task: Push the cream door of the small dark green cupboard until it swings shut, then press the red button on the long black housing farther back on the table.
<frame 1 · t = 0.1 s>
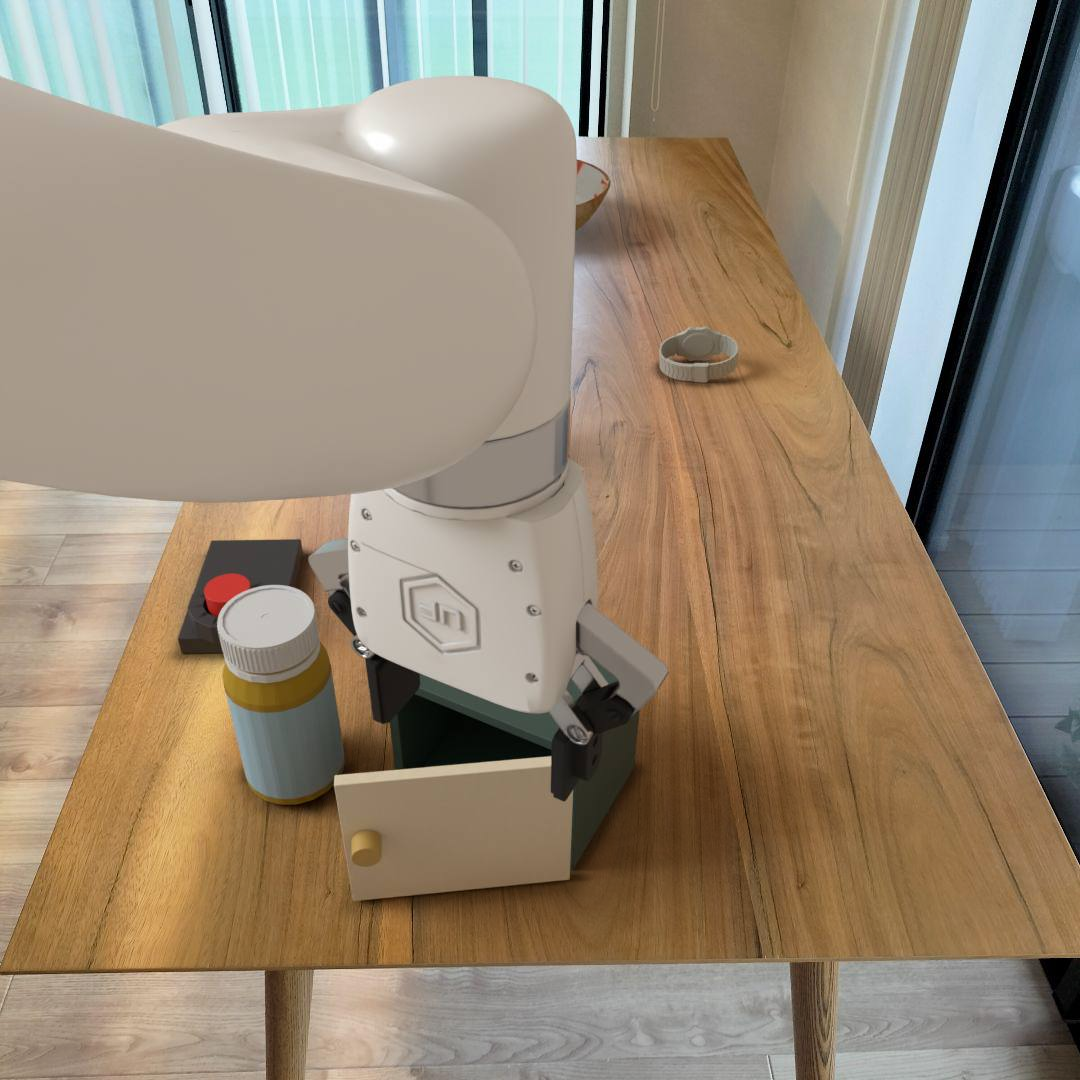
hand: (482, 739, 51), 22 cm above the table, tool pointing down, fingers open, 9 cm apart
switch: (245, 600, 93), on the table
button: (228, 595, 87), point 4 cm above the table, slide at 0.1 cm
bowl: (522, 235, 159), on the table
wristwatch: (696, 373, 126), on the table
elephant figurine: (443, 460, 111), on the table
bottle: (297, 773, 78), on the table
cupboard: (517, 779, 77), on the table
door: (459, 839, 66), point 6 cm above the table, hinge at 35.0°
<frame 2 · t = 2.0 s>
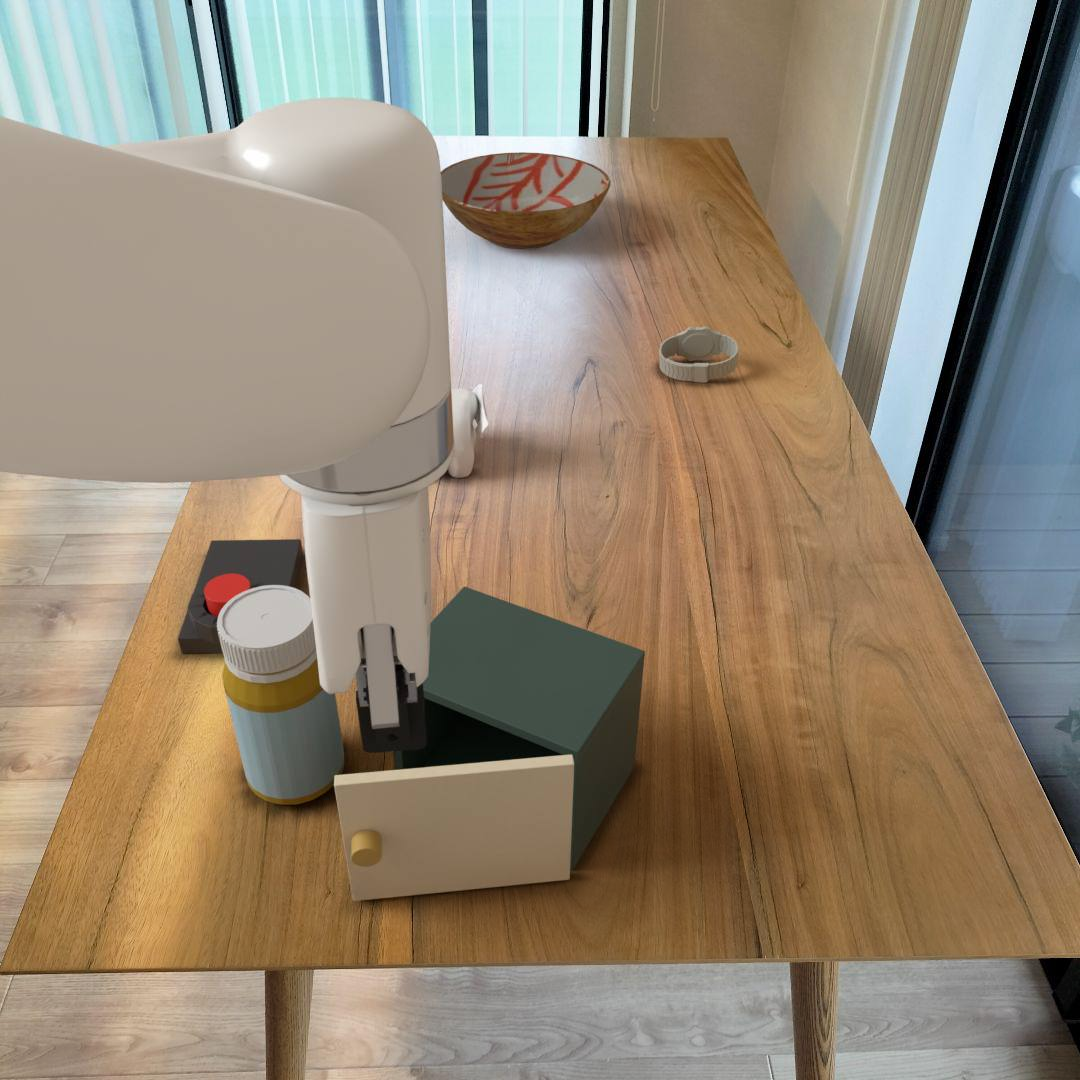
hand: (394, 729, 56), 19 cm above the table, tool pointing down, fingers closed
nothing on the table moved.
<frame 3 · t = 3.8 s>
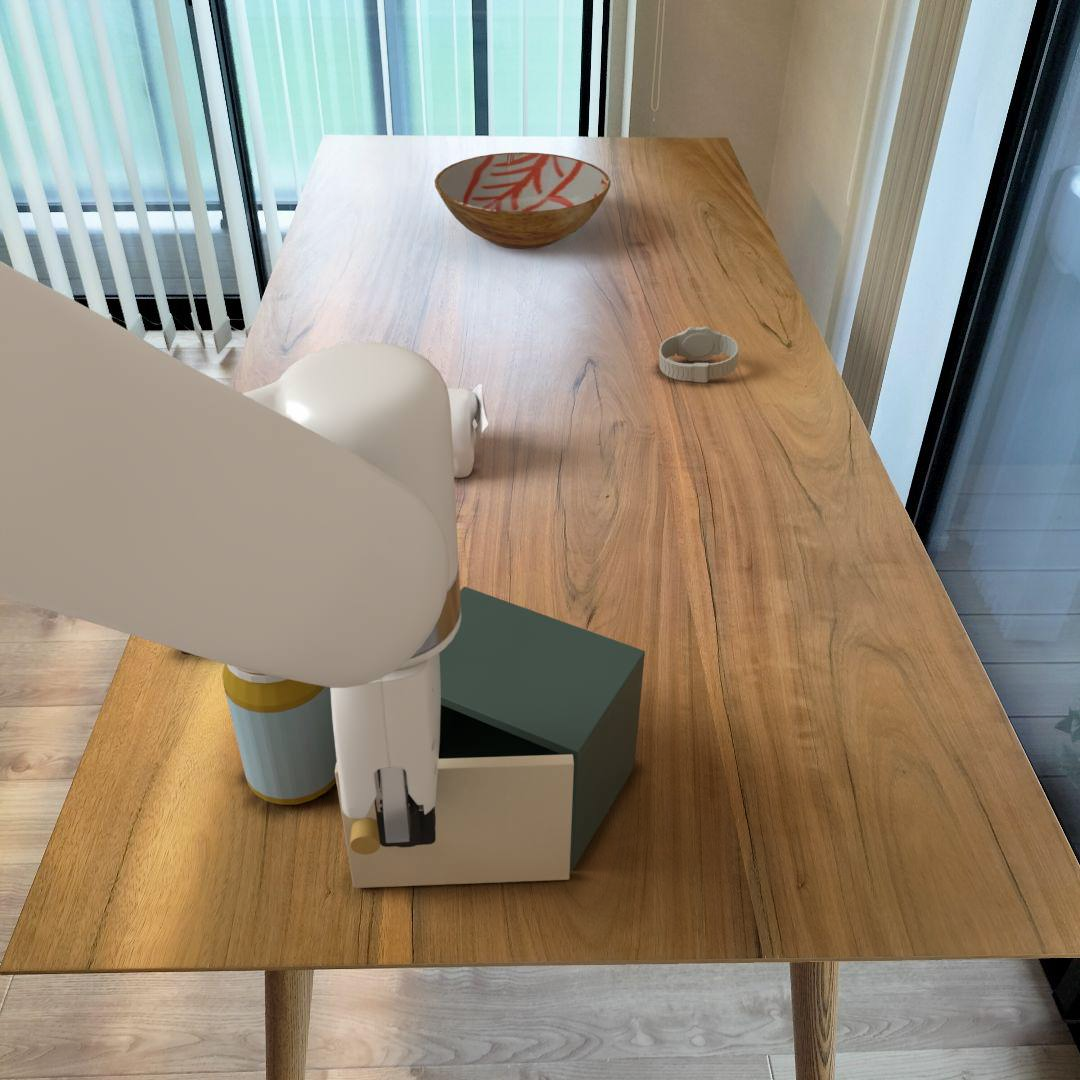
hand: (408, 834, 63), 9 cm above the table, tool pointing down, fingers closed
door: (458, 833, 66), point 6 cm above the table, hinge at 30.9°, touching gripper
everything else where it was.
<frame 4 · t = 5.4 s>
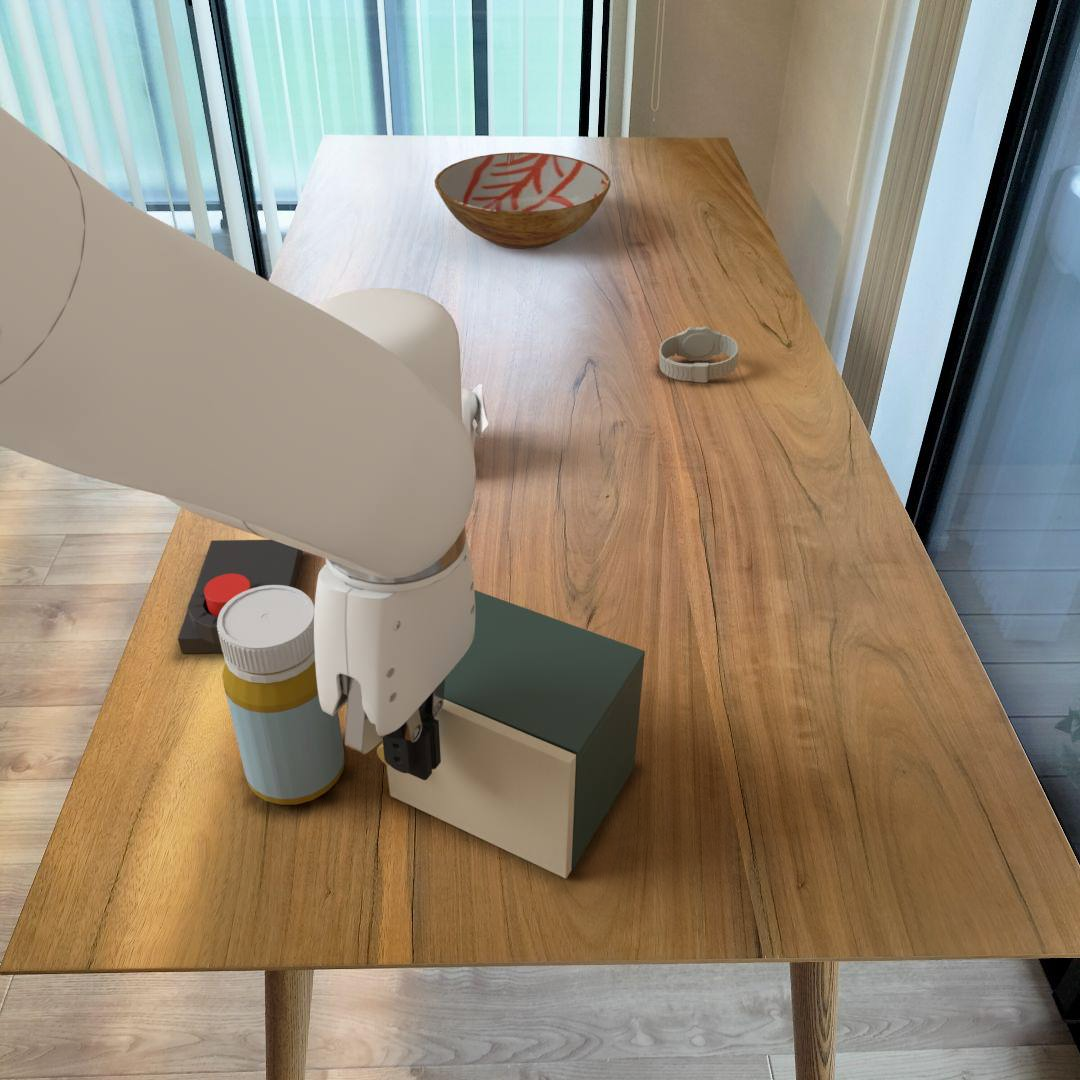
hand: (413, 763, 68), 8 cm above the table, tool pointing down, fingers closed
door: (469, 784, 69), point 6 cm above the table, hinge at -0.9°, touching cupboard, gripper
everything else where it was.
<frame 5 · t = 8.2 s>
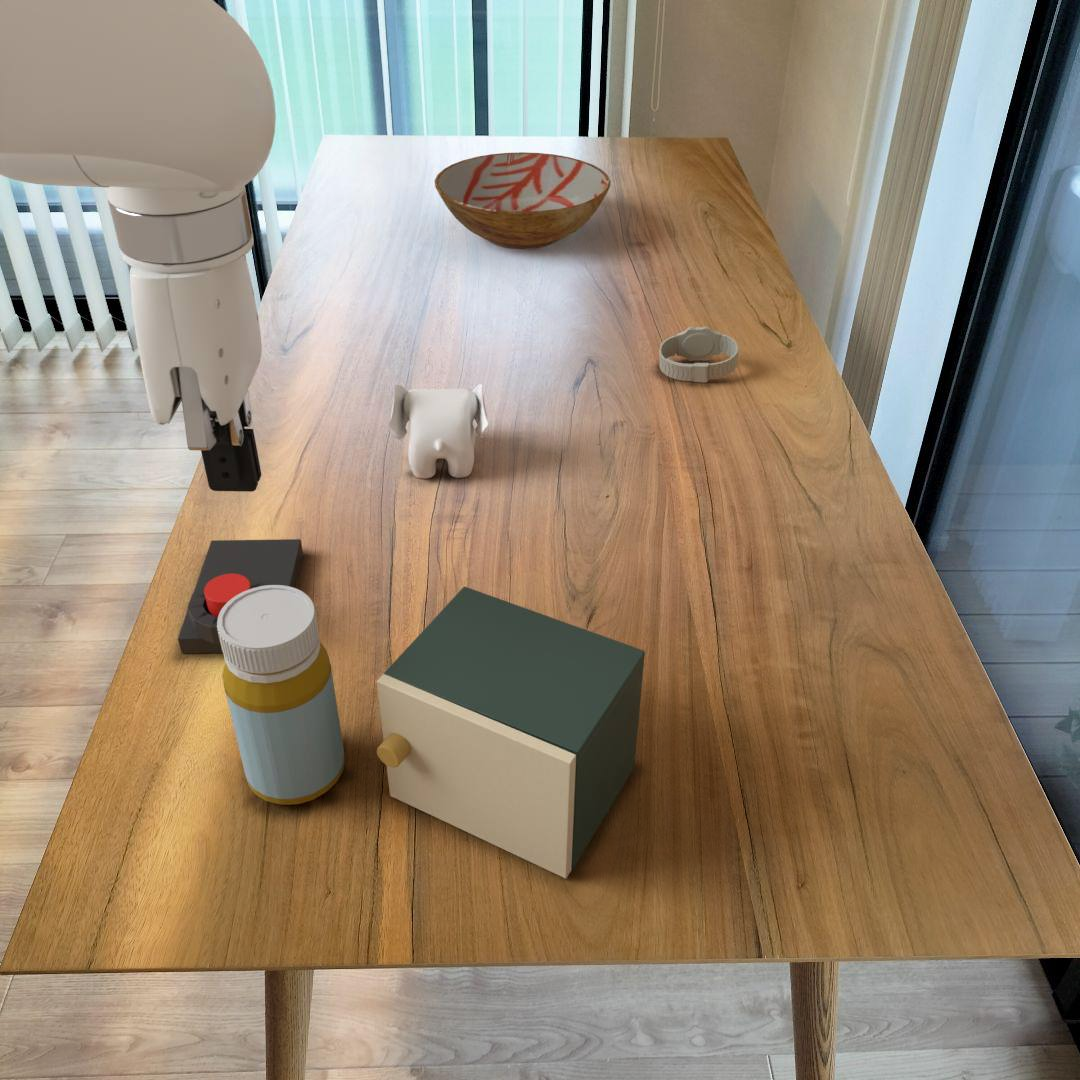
hand: (236, 484, 73), 19 cm above the table, tool pointing down, fingers closed
door: (469, 784, 69), point 6 cm above the table, hinge at -0.8°
everything else where it was.
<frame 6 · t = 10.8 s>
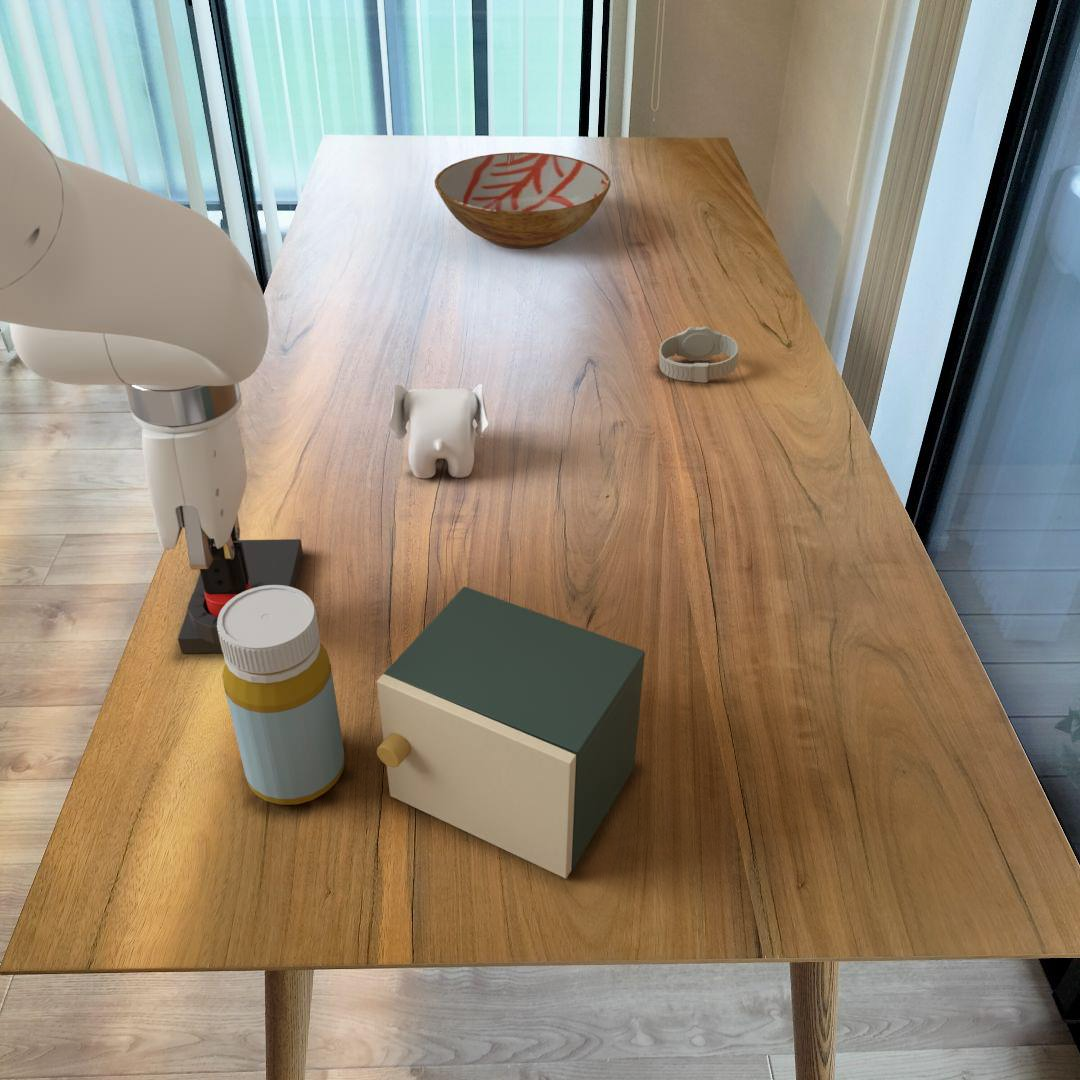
hand: (227, 587, 87), 5 cm above the table, tool pointing down, fingers closed
button: (229, 597, 87), point 4 cm above the table, slide at -0.1 cm, touching gripper
everything else where it was.
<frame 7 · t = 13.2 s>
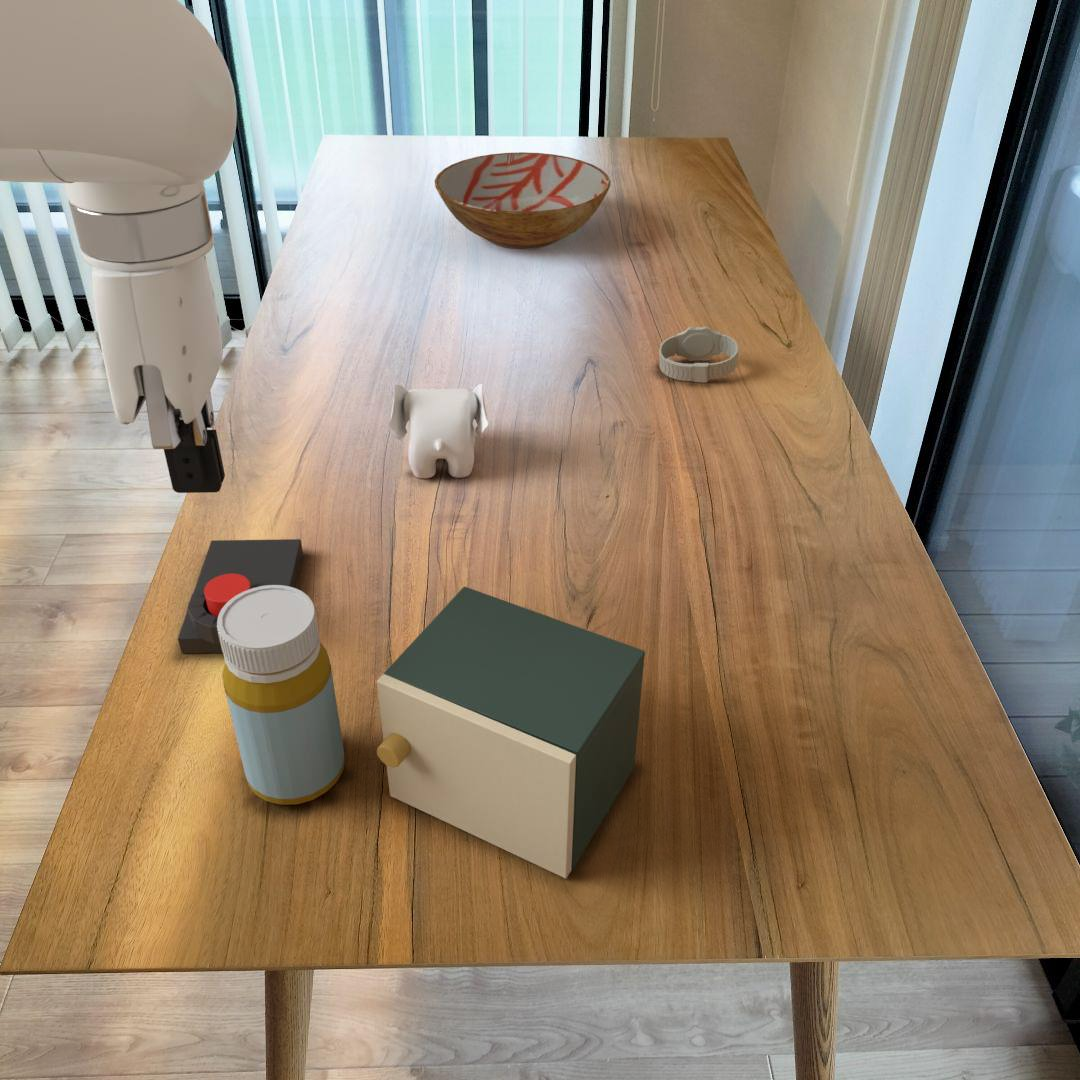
hand: (199, 485, 74), 19 cm above the table, tool pointing down, fingers closed
button: (228, 595, 87), point 4 cm above the table, slide at 0.1 cm
everything else where it was.
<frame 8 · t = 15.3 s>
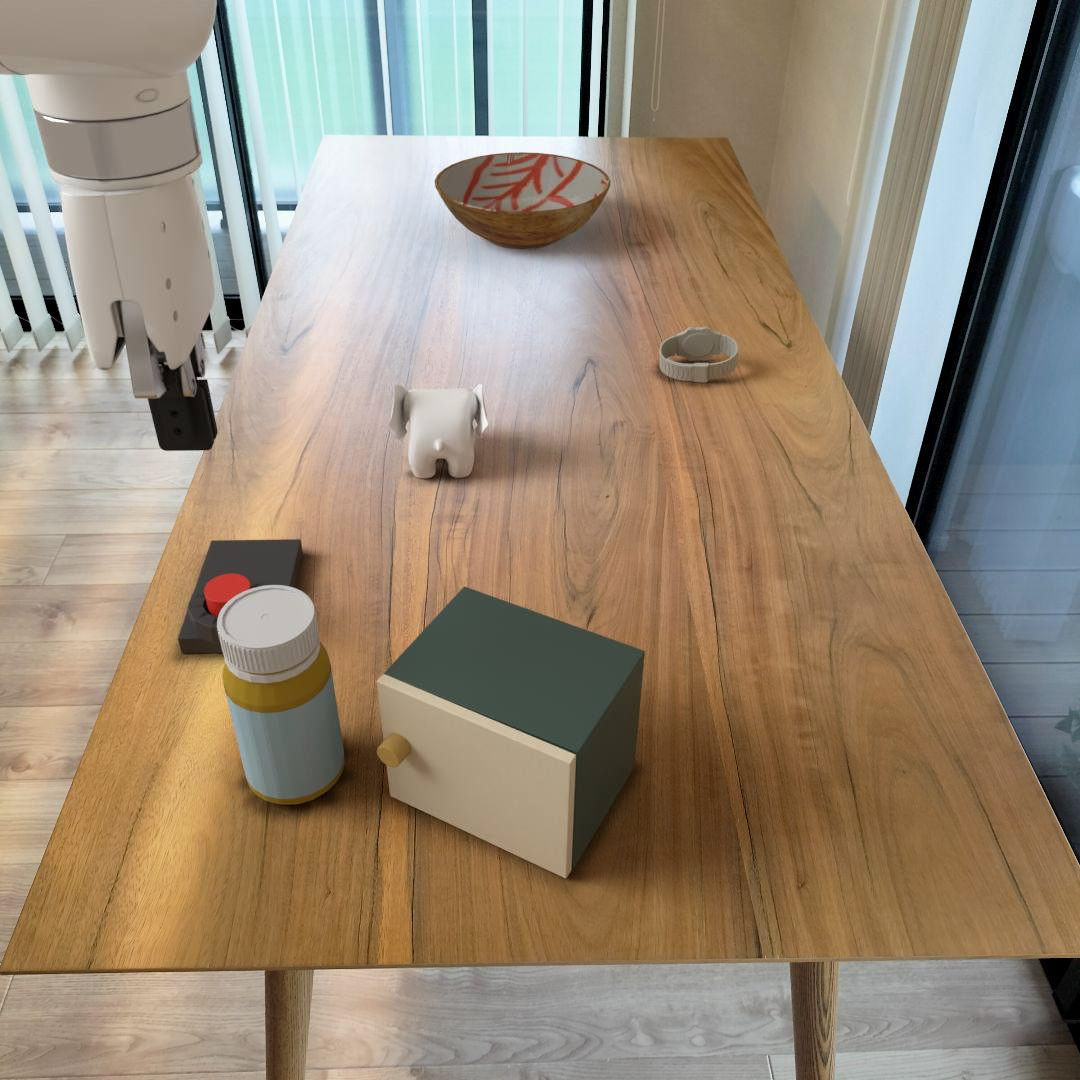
hand: (189, 443, 66), 25 cm above the table, tool pointing down, fingers closed
nothing on the table moved.
at the end: door at -1° (first picture: +35°); button pushed in 1.1 cm at the most during the clip, back to where it started at the end; button slide at 0.1 cm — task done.
